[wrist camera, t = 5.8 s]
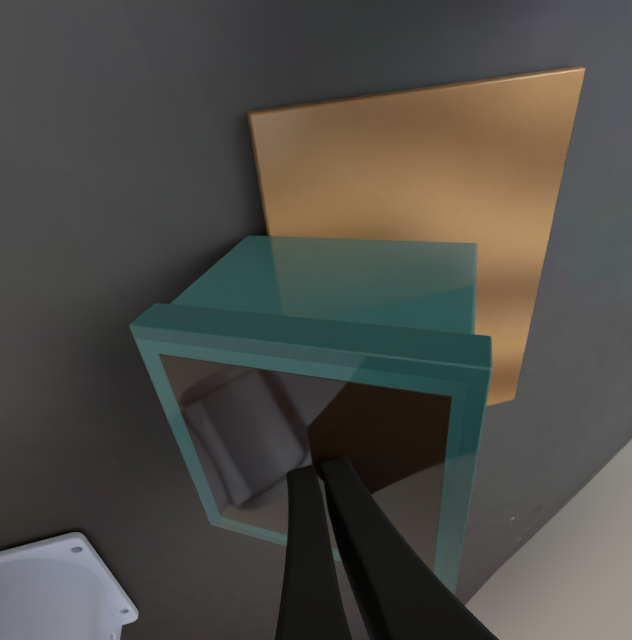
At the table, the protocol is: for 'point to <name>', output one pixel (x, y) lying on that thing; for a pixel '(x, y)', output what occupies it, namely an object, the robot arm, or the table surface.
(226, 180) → the table surface
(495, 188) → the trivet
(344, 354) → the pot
